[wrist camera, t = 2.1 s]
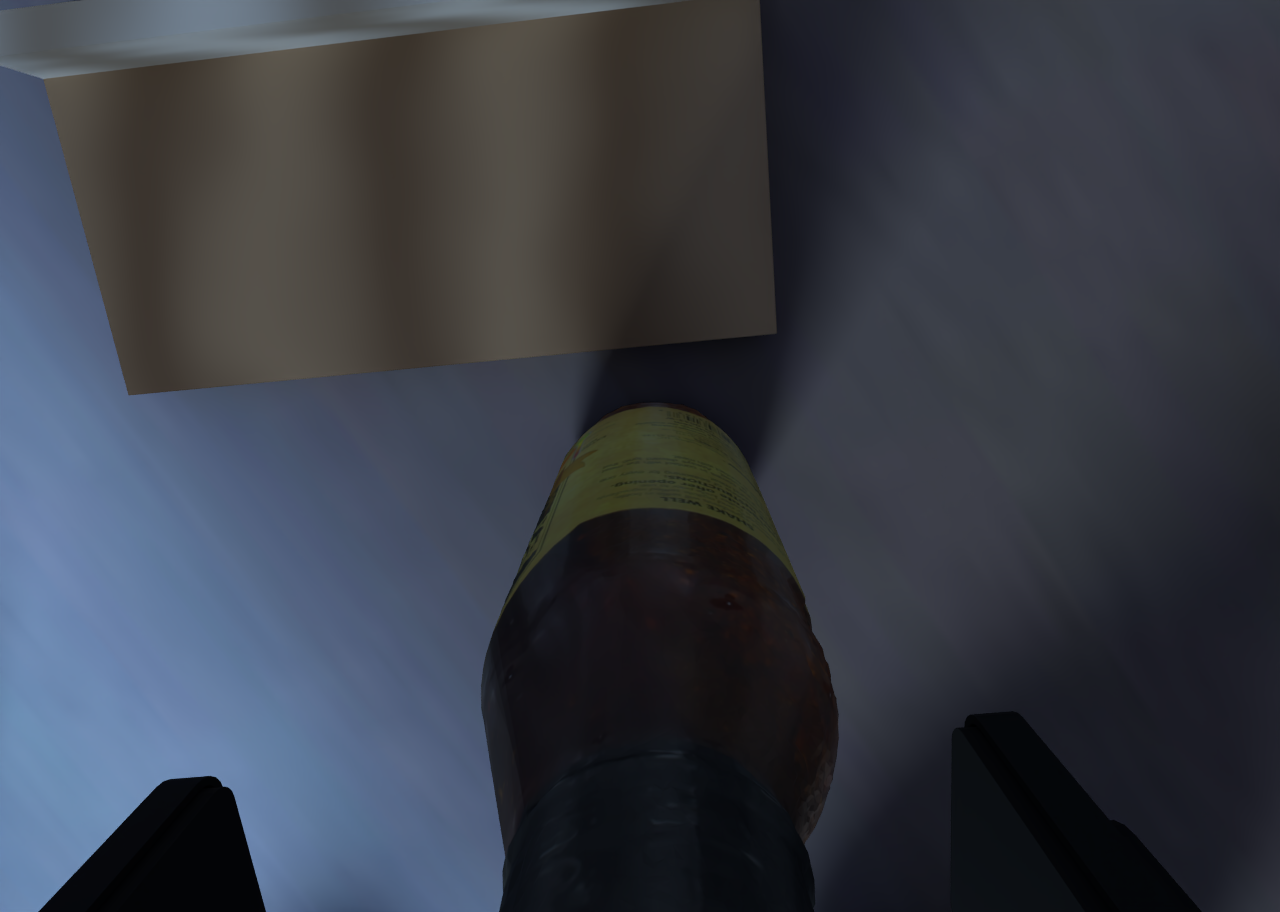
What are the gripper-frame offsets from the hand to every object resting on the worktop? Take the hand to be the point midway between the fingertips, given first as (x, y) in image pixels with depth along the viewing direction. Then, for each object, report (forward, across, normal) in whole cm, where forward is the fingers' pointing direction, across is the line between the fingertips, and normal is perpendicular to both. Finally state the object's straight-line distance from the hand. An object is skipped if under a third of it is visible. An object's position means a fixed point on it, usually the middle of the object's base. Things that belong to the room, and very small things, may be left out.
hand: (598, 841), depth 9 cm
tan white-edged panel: (+16, +5, -10) cm, 19 cm away
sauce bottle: (+16, -1, 0) cm, 16 cm away
